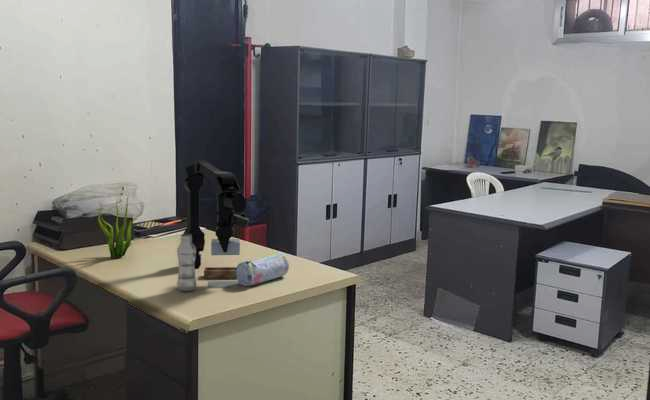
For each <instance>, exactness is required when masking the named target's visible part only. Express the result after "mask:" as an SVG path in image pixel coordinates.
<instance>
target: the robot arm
mask: <svg viewBox="0 0 650 400" xmlns="http://www.w3.org/2000/svg"><path fill="white" fill-rule="evenodd" d="M180 176H181V181H182V186H183V187H184V189H185V191H186V228H185V230H184V231H183V233H182V235H183V234H191V235H192V241H191V242H192V243H193V244H194V246H195V247H196V256H195V269H199V268H200V266H201V265H202V254H201V252H204V248H205V245H206V241H205V235H206V234H205V232H204V231H203V230H202V229H201V226H200V221H201V220H200V217H201V216H200V215H201V214H200V213H201V212H200V207H201V206H200V193H201V192H200V191H201V190H202V188H203V186H204V183H205V180H206V178H207V179H208V180H210V181H211V182H212V183H211V184H212V186H213V187H214V188H215V189H216V191H215V192H214V195H216V210H217V211H216V215H217V216H216V217H217V219H216V220H217V221H216V226H217V227H215V230H214V231H215V236H216V239H218V240H219V243H220V245H221V247H222V249H223V252H227V249H228V243H229V239H232V237H233V236H234V234H235V233H234V232H235V225H236V226H239V227H241V228H243V229H247V227H248V225H249V221H250V218H248V217H247V216H246V213H245V212H242V211H244V210H245V209H246V207H247V203H248V202H247V199H246V198H245V197H244V196H243V195H242V191H241V187H240V185H239V182H238V179H237V178H236V176H235V174H234V173H233V172H230V171H222V170H221V169H218V168H217V167H216V166H214V165H212V164H211V163H209V162H208V160H196V161H194V162H193V164H190V165H189V166H187V167H185V169H183V171H182V173H181V175H180ZM235 212H237V213H239V212H240V214H237V213H235ZM181 242H182V241H181V240H180V243H181Z"/></svg>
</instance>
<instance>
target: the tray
mask: <svg viewBox="0 0 650 400" xmlns="http://www.w3.org/2000/svg"><path fill="white" fill-rule="evenodd" d="M236 269H237V266H220V267H219V266H213V267H211V266H209V267H207V266H205V267H204V270H203V279H204V280H221V279H222V280H224V279H225V280H228V279H229V280H232V279H236V280H237V275H236Z"/></svg>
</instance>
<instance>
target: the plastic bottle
mask: <svg viewBox="0 0 650 400" xmlns="http://www.w3.org/2000/svg"><path fill="white" fill-rule="evenodd" d="M181 241H182V242H181ZM191 241H192V235H191V234H183V233H182V234H181V235H180V243H179V244H178V247H177V250H176V252H177V253H176V254H177V260H178V261H177V262H178V275H177V276H178V277H177V280H176V281H177V282H176V287H177V289H178V291H180V292H192V291H194V290H195V289H196V288H197V278H196V270H195V269H196V268H195V256H196V247H195V246H194V244H193V243H192V242H191Z"/></svg>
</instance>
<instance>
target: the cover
mask: <svg viewBox="0 0 650 400" xmlns="http://www.w3.org/2000/svg"><path fill="white" fill-rule="evenodd" d="M240 242H241V239H240V238H230V239H229V243H228V249H227V252H223V249H222V247H221V245H220V243H219V240H218V238H212V239H211V243H210V246H211V248H210V251H211V252H210V255H211V256H239V255H240V252H241V251H240V250H241V243H240Z"/></svg>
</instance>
